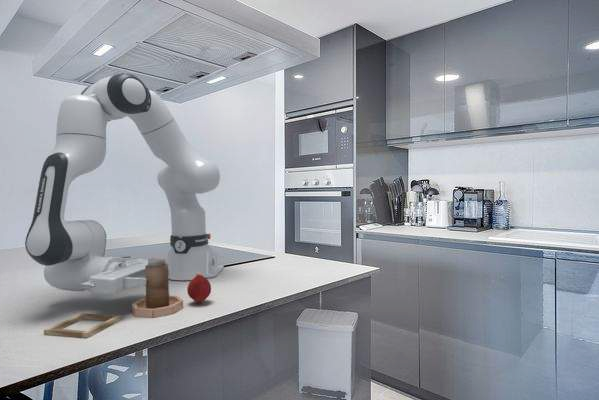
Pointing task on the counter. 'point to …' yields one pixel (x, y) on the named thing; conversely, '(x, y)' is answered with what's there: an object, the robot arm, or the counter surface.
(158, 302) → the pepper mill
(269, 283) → the counter surface
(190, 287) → the onion
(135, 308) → the dish
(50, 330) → the holder frame
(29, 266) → the counter surface
